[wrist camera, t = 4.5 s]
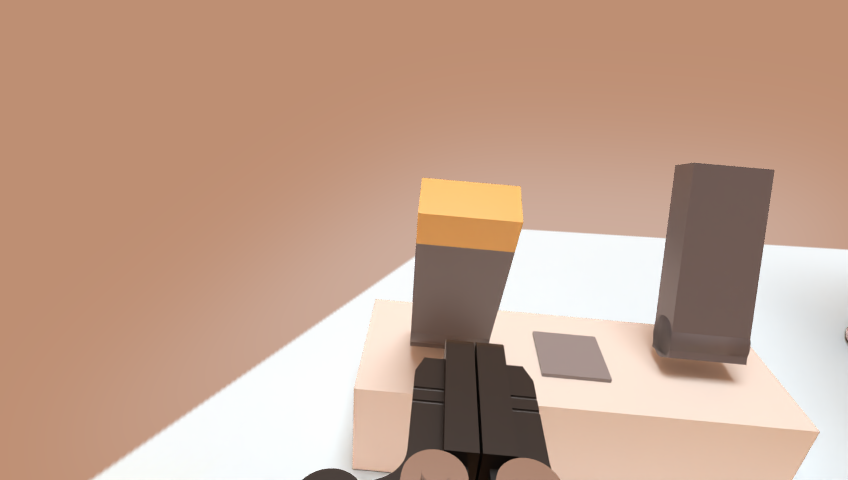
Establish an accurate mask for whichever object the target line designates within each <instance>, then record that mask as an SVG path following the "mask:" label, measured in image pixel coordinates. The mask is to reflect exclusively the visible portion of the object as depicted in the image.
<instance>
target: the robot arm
mask: <svg viewBox="0 0 848 480" xmlns="http://www.w3.org/2000/svg"><path fill="white" fill-rule="evenodd" d="M846 338H847V340H848V328H847V329H846ZM303 480H357V479H356V478H355V477H354V476H353V475H352V474H350V473H348V472H346V471H344V470H340V469H322V470H319V471H316V472H314V473H312V474H310V475H308V476H307V477H305V478H304V479H303ZM376 480H560V479H559V477H558V476H557V475H556V473H555V472H554V471H553V470H552V469H551V466H550V462H549V457H548V452H547V447H546V442H545V437H544V432H543V427H542V422H541V417H540V414H539V406H538V401H537V396H536V391H535V386H534V381H533V380H532V378H531V377H530V376H529V374H528V373H527V372H526V370H525V369H524V368H523V366H514V365H506V358H505V350H504V345H503V344H492V343H481V342H475V344H474V343H473V342H469V341H458V340H447V339H446V341H445V349H444V358H443V359H437V358H426V357H424V359H423V360H422V362H421V363H420V364H419V366H418V367H417V368H416V370H415V376H414V387H413V397H412V407H411V417H410V427H409V437H408V447H407V453H406V456H405V459H404V461H403V462H402V464H401V465H400V466H399V467H398V468H397V469H396V470H395V471H394V472H392V473H391V474H389V475H387V476H385V477H383V478H379V479H376Z"/></svg>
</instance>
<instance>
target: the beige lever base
mask: <svg viewBox="0 0 848 480" xmlns="http://www.w3.org/2000/svg"><path fill="white" fill-rule="evenodd" d="M412 304H413V303H412V302H401V301H390V300H379V299H376V300H375V304H374V308H373V312H372V316H371V320H370V324H369V329H368V333H367V337H366V341H365V345H364V349H363V353H362V358H361V362H360V366H359V370H358V374H357V378H356V382H355V386H354V415H353V469H361V470H371V471H382V472H394V471H395V470H396V469H397V468H398V467H399V466H400V465H401V464H402V462H403V461H404V459H405V456H406V453H407V447H408V437H409V427H410V417H411V407H412V397H413V387H414V376H415V370H416V368H417V367H418V366H419V364H420V363H421V362H422V360H423V359H424V357H426V358H437V359H443V358H444V349H441V348H430V347H419V346H410V336H411V321H412ZM653 330H654V325H653V324H642V323H631V322H620V321H609V320H598V319H587V318H576V317H565V316H554V315H543V314H532V313H521V312H510V311H499V310H498V312H497V316H496V319H495V323H494V326H493V330H492V333H491V337H490V341H489V343H492V344H503V345H504V350H505V358H506V365H514V366H523V368H524V369H525V370H526V372H527V373H528V374H529V376H530V377H531V378H532V380H533V381H534V386H535V391H536V396H537V401H538V406H539V414H540V417H541V422H542V427H543V432H544V437H545V442H546V447H547V452H548V457H549V462H550V466H551V469H552V470H553V471H554V472H555V473H556V475H557V476H558V477H559V479H560V480H792V479H793V477H794V476H795V474H796V472H797V471H798V469H799V467H800V465H801V464H802V462H803V460H804V459H805V457H806V455H807V453H808V452H809V450H810V448H811V446H812V445H813V443H814V441H815V440H816V438H817V436H818V434H819V433H820V431H819V430H818V429H817V428H816V426H815V425H814V424H813V423H812V421H811V420H810V419H809V418H808V417H807V415H806V414H805V413H804V412H803V410H802V409H801V408H800V407H799V405H798V404H797V403H796V402H795V401H794V399H793V398H792V397H791V396H790V394H789V393H788V392H787V391H786V389H785V388H784V387H783V386H782V385H781V383H780V382H779V381H778V380H777V378H776V377H775V376H774V375H773V373H772V372H771V371H770V370H769V369H768V367H767V366H766V365H765V364H764V362H763V361H762V360H761V359H760V357H759V356H758V355H757V354H756V353H755V351H754V350H753V349H752V348H751V346H750V352H749V355H748V357H747V364H746V365H741V364H730V363H719V362H708V361H697V360H687V359H676V358H667V357H660V356H659V355H658V354H657V352H656V350H655V348H653V347H652V344H653Z"/></svg>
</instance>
